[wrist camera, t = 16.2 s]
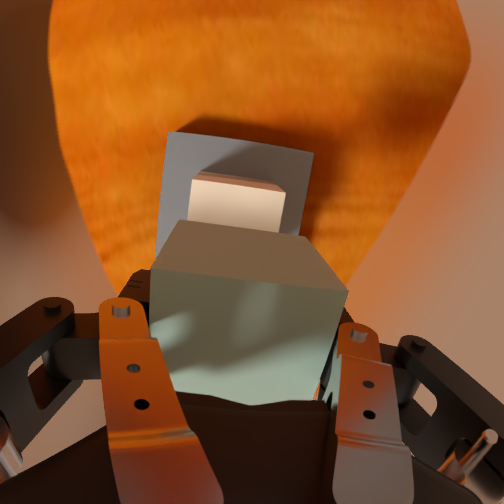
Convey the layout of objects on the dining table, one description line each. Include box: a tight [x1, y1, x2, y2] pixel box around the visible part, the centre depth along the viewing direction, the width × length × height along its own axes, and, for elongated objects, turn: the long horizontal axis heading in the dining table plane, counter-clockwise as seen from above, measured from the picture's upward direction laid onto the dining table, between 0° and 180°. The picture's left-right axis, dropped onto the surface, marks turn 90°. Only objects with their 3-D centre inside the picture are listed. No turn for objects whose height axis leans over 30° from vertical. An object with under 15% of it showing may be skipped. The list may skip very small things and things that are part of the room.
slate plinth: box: [155, 131, 314, 260], centre depth 28 cm, size 12×12×3 cm
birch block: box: [187, 171, 286, 233], centre depth 24 cm, size 6×6×6 cm
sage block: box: [149, 219, 348, 405], centre depth 11 cm, size 5×5×5 cm
